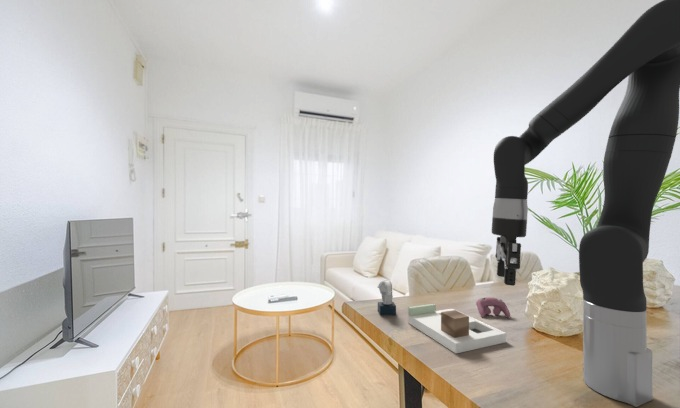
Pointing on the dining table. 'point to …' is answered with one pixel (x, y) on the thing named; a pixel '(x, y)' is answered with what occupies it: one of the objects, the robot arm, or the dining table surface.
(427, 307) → the board
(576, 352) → the dining table surface
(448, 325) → the walnut block
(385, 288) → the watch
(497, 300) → the video game controller
